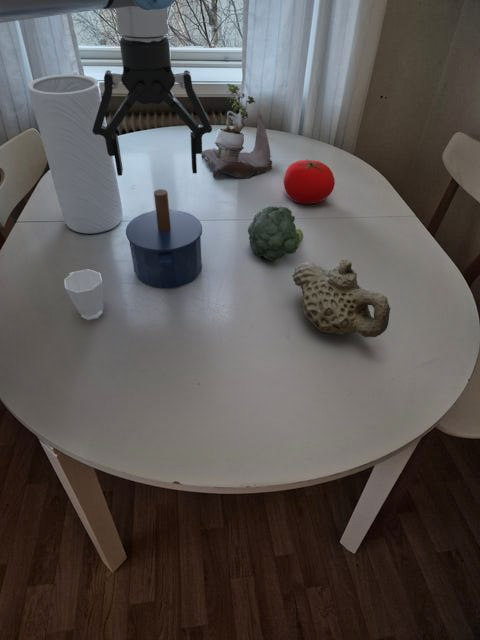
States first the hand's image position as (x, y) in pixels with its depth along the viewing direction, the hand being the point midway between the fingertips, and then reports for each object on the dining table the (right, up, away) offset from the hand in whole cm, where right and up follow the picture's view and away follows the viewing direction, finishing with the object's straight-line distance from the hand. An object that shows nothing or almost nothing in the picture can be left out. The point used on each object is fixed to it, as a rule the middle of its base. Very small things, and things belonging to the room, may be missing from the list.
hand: (157, 171), depth 80 cm
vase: (-22, -2, +29) cm, 36 cm away
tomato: (+34, +7, +41) cm, 54 cm away
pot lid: (0, -9, +9) cm, 13 cm away
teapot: (+33, -29, +4) cm, 44 cm away
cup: (-15, -26, +5) cm, 30 cm away
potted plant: (+15, +22, +57) cm, 62 cm away
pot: (-1, -16, +16) cm, 22 cm away
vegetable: (+24, -12, +22) cm, 34 cm away
